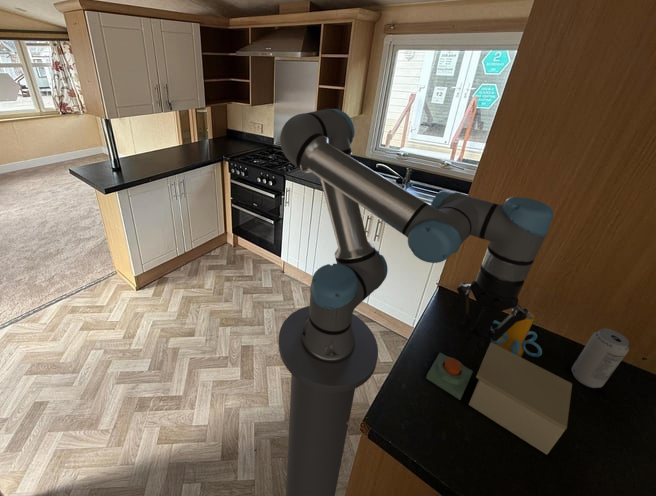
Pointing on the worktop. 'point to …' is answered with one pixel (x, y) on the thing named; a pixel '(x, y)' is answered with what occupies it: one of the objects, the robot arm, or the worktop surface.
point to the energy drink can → (600, 358)
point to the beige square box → (515, 417)
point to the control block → (449, 377)
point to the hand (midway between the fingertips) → (469, 351)
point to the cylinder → (519, 337)
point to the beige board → (527, 384)
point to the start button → (452, 366)
